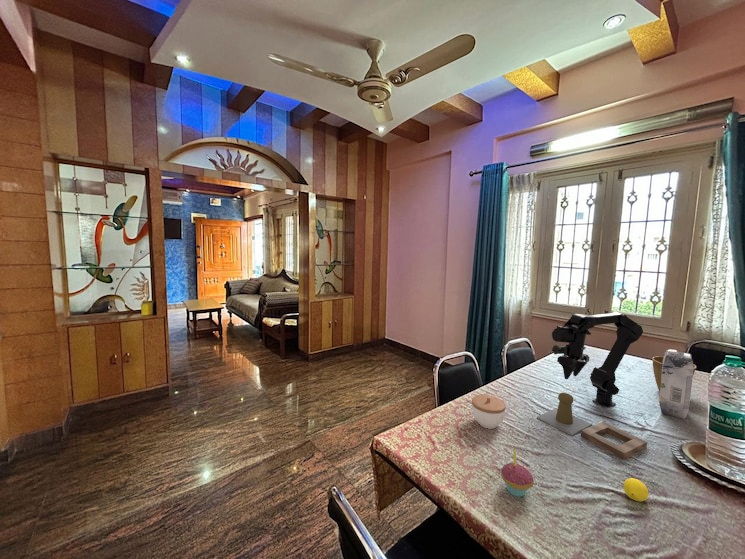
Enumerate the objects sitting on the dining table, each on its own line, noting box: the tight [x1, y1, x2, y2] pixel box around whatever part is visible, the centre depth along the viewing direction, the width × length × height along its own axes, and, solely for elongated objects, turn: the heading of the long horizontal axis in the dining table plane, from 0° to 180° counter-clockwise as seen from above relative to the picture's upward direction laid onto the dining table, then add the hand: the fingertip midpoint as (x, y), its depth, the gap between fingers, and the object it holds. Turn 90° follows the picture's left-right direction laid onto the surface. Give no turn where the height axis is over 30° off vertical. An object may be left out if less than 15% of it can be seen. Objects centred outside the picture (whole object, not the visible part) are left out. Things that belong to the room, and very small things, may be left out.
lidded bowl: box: [471, 394, 507, 430], centre depth 122 cm, size 13×13×11 cm
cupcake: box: [500, 447, 534, 497], centre depth 89 cm, size 9×8×12 cm
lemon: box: [622, 477, 650, 502], centre depth 86 cm, size 7×5×5 cm
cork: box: [556, 392, 574, 425], centre depth 123 cm, size 6×6×11 cm
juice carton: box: [658, 349, 694, 420], centre depth 129 cm, size 9×10×27 cm
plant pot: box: [652, 356, 697, 393], centre depth 146 cm, size 15×15×16 cm
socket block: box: [579, 421, 648, 461], centre depth 111 cm, size 14×14×2 cm
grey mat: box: [536, 407, 593, 437], centre depth 124 cm, size 14×14×1 cm
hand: (570, 377), depth 135 cm, fingers open, 9 cm apart
